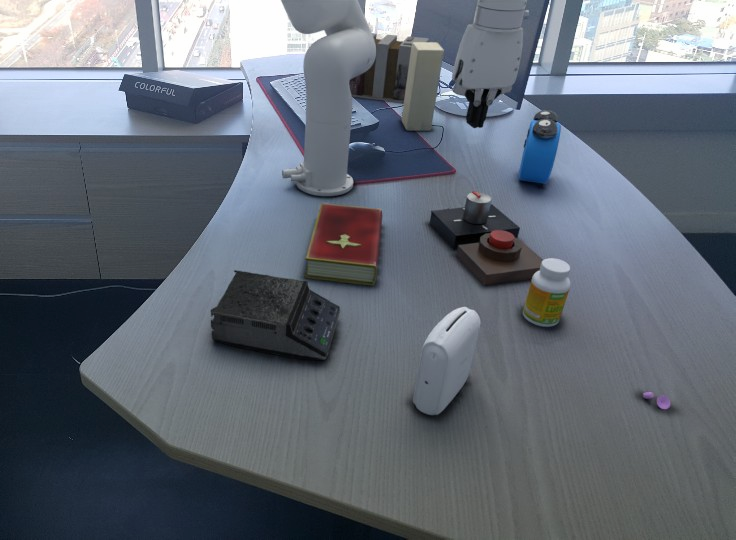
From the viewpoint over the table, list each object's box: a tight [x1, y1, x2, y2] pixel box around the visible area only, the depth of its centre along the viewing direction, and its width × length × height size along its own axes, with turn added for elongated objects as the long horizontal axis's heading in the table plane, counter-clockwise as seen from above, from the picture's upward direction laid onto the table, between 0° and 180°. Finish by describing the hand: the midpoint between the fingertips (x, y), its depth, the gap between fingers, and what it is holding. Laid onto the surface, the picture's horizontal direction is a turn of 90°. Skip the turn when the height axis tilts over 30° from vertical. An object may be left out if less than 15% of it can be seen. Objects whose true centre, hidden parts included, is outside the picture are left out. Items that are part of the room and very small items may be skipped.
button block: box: [455, 233, 544, 286], centre depth 111 cm, size 12×10×4 cm
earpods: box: [642, 391, 672, 410], centre depth 84 cm, size 3×2×2 cm
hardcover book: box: [304, 202, 383, 287], centre depth 116 cm, size 12×21×4 cm, turn 168°
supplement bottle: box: [522, 257, 572, 328], centre depth 97 cm, size 5×5×10 cm
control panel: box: [428, 203, 521, 250], centre depth 122 cm, size 13×10×3 cm
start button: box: [489, 230, 514, 249], centre depth 111 cm, size 4×4×2 cm
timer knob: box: [463, 190, 493, 224], centre depth 120 cm, size 4×4×5 cm
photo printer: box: [412, 306, 482, 416], centre depth 82 cm, size 10×4×12 cm, turn 140°
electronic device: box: [210, 269, 341, 361], centre depth 95 cm, size 12×17×6 cm
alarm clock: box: [517, 108, 562, 189], centre depth 139 cm, size 13×6×15 cm, turn 158°
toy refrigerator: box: [401, 41, 445, 132], centre depth 166 cm, size 8×7×21 cm
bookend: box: [349, 32, 430, 104], centre depth 193 cm, size 16×25×16 cm, turn 68°
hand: (474, 125), depth 115 cm, fingers closed
